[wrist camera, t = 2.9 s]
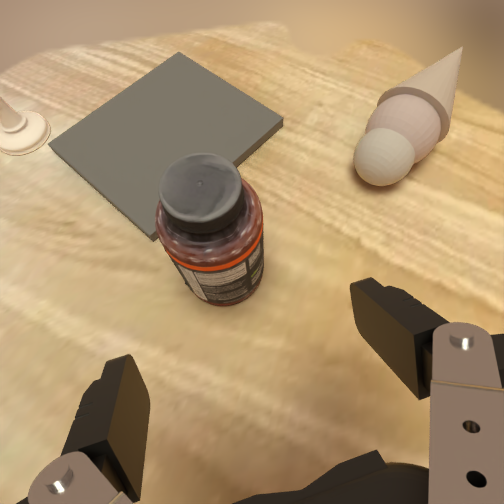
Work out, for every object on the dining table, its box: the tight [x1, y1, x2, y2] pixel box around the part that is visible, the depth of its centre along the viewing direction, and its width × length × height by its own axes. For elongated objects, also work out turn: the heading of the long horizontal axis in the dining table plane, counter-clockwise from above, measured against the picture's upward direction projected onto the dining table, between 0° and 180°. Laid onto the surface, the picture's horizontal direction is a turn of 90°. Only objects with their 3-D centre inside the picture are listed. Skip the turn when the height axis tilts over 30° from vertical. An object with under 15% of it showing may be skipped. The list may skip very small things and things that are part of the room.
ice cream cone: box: [354, 47, 463, 186], centre depth 29 cm, size 6×6×15 cm
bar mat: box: [48, 52, 283, 242], centre depth 32 cm, size 16×14×1 cm
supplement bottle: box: [155, 152, 264, 306], centre depth 21 cm, size 6×6×11 cm
